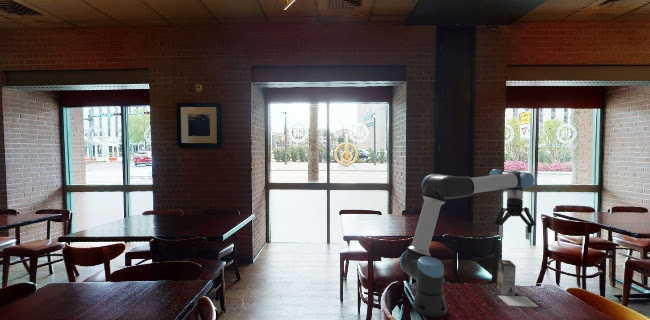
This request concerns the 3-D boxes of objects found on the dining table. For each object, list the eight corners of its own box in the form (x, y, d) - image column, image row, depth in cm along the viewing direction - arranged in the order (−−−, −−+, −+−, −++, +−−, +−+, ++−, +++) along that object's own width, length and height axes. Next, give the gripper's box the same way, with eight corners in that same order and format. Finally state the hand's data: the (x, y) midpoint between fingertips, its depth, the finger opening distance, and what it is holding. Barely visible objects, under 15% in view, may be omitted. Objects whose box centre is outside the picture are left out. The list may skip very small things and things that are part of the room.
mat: (508, 306, 159) (508, 305, 159) (497, 296, 170) (497, 295, 170) (538, 307, 158) (538, 306, 158) (525, 297, 169) (525, 296, 169)
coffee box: (496, 288, 180) (497, 259, 180) (509, 289, 179) (510, 260, 179) (502, 295, 172) (502, 264, 171) (515, 296, 170) (516, 265, 170)
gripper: (543, 200, 170) (543, 241, 164) (495, 201, 190) (494, 238, 184) (536, 196, 166) (536, 238, 160) (488, 198, 187) (486, 235, 181)
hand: (513, 238), depth 172 cm, fingers open, 13 cm apart
